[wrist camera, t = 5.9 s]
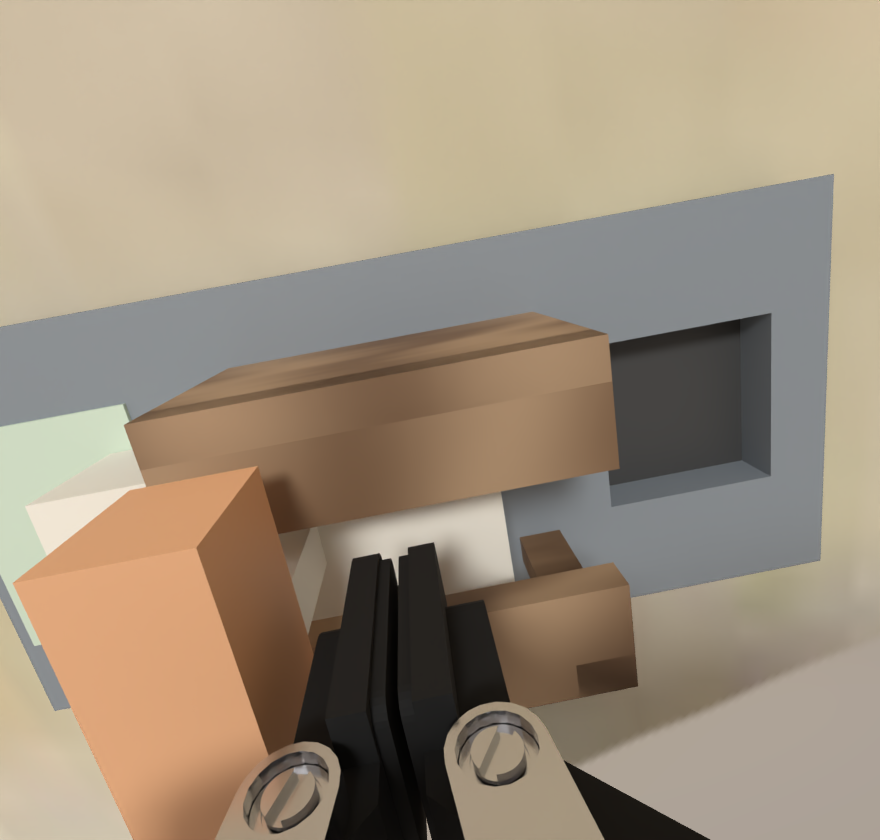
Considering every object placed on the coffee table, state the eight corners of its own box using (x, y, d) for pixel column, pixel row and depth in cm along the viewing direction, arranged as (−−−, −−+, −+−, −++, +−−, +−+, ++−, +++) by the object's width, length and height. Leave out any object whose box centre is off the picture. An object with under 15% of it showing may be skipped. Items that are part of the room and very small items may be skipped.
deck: (788, 184, 18) (837, 173, 16) (784, 535, 22) (823, 562, 20) (-64, 340, 18) (-126, 349, 16) (85, 672, 22) (52, 714, 20)
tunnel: (532, 311, 17) (608, 334, 11) (562, 553, 19) (637, 686, 13) (227, 368, 17) (123, 424, 10) (297, 604, 19) (247, 764, 13)
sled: (465, 356, 17) (556, 478, 7) (496, 544, 19) (602, 855, 9) (99, 424, 17) (-363, 655, 7) (168, 608, 19) (-106, 1001, 9)
